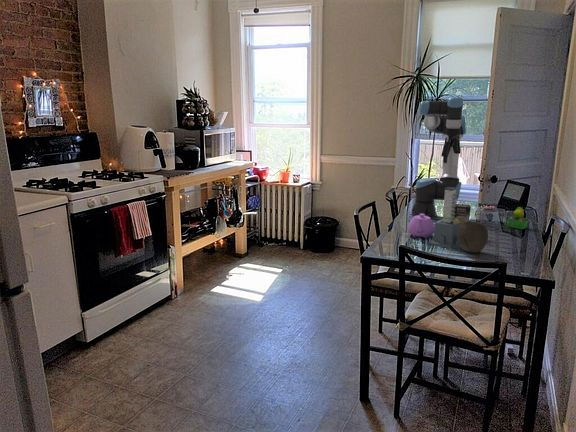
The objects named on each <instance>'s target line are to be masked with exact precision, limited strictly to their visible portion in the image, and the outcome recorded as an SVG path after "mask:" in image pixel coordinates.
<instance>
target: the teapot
mask: <svg viewBox="0 0 576 432" xmlns="http://www.w3.org/2000/svg"><path fill="white" fill-rule="evenodd" d="M434 229H435V223H434V221H433V220H432V217H431V218H430V217H428V216H425V214H420V215H417V216H413V217H412V219H410V221H409V223H408V225H407V231H408V233H409V234H410V235H411V236H412V238H418V237H420V238H421V237H422V238H424V239H429V237H431V236H432V235H434Z"/></svg>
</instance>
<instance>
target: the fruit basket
mask: <svg viewBox="0 0 576 432" xmlns="http://www.w3.org/2000/svg"><path fill="white" fill-rule="evenodd" d="M524 216H525V213H524V209H523V208H522V207H520V206H518V207H516V208H515V210H514V211H513V215H508V216H507V217H505V218H504V220H505V224H506V227H507V228H513V229H518V230H519V229H520V230H524V229H526V228H527V226H528V225H529V224H528V223H529V221H530V218H525V217H524Z"/></svg>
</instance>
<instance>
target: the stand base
mask: <svg viewBox="0 0 576 432" xmlns="http://www.w3.org/2000/svg"><path fill="white" fill-rule="evenodd" d="M442 221H443V218H442V219H439V220H437V221H435V222H434V227H435V229H434V233H433V239H431V240H430V241H428V242H427V243H428V245H429V246H430V245H431V246H436V247H440V246H441V247H440V248H445V247H446V249H449V248H451V250H452V249H454V248H455V247H457V246H458V245H460V244H459V241H458V230H459V228H460V222H459V220H458V219H455V220H454V221H453V224H446V223H442ZM453 247H454V248H453Z"/></svg>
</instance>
